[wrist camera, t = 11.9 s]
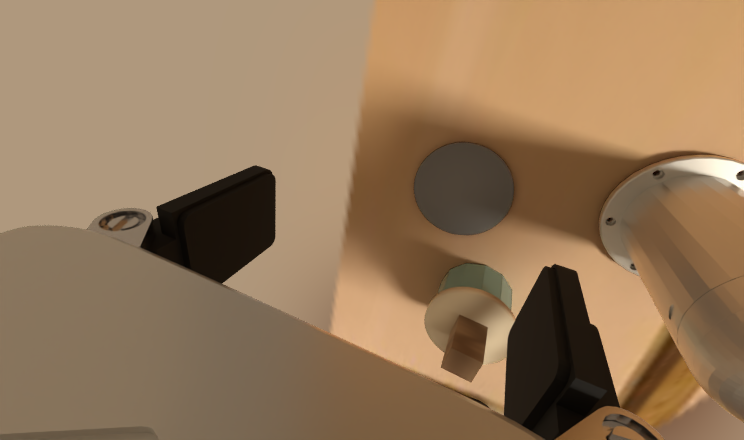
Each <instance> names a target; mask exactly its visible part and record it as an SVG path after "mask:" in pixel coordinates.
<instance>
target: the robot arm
mask: <svg viewBox="0 0 744 440" xmlns="http://www.w3.org/2000/svg"><path fill="white" fill-rule="evenodd" d="M656 170H658V173H657V174H653V172H655V171H656ZM740 171H741V173H740V174H738V175H737V173H738V172H740ZM157 212H158V217H159V218H156V219H154V220H153V216H152V215H151V213H150V212H148V211H146V210H142V209H136V208H126V209H119V210H114V211H110V212H107V213H104V214H102V215H100V216H98V217H97V218H96V219H95V220H94V221H93V222H92V223H91V224H90V226H89V227H88V228H87V229H86V230H85V229H80V228H73V227H63V226H27V227H22V228H17V229H13V230H10V231H6V232H3V233H0V440H665V439H664V438H663V437H662V436H661V435H660V434H659V433H658V432H657V431H656V430H655V429H654V428H653V427H652V426H650V425H649V424H648V423H647V422H645V421H644V420H643V419H641V418H640V417H638V416H636V415H634V414H633V413H631V412H629V411H627V410H624V409H621V408H620V406H619V402H618V399H617V395H616V392H615V388H614V385H613V381H612V377H611V374H610V370H609V367H608V363H607V360H606V356H605V352H604V349H603V345H602V342H601V338H600V335H599V331H598V329H597V327H596V326H594V325H592V324H590V321H589V317H588V313H587V309H586V305H585V302H584V298H583V294H582V290H581V286H580V282H579V278H578V274H577V272H576V271H574V270H571V269H568V268H565V267H562V266H559V265H556V264H554V265H553V266H552V267H551V268H550V267H547V266H545V267H544V268H543V270H542V271H541V273H540V275H539V277H538V279H537V281H536V282H535V284H534V286H533V288H532V290H531V292H530V294H529V296H528V297H527V299H526V301H525V303H524V305H523V307H522V309H521V311H520V312H519V314H518V316H517V318H516V320H515V322H514V324H513V325H512V327H511V329H510V332H509V335H508V340H507V361H506V383H505V405H504V416H503V415H501V414H499V413H497V412H495V411H493V410H491V409H489V408H487V407H485V406H484V405H482V404H480V403H478V402H476V401H474V400H472V399H470V398H468V397H466V396H464V395H462V394H460V393H457V392H455V391H453V390H451V389H449V388H447V387H444V386H442V385H440V384H438V383H436V382H434V381H432V380H430V379H428V378H426V377H424V376H421V375H419V374H417V373H415V372H413V371H411V370H409V369H406V368H404V367H402V366H400V365H398V364H396V363H393V362H391V361H389V360H387V359H385V358H383V357H381V356H378V355H376V354H374V353H372V352H370V351H368V350H365V349H363V348H361V347H359V346H357V345H355V344H353V343H350V342H348V341H346V340H344V339H342V338H340V337H337V336H335V335H333V334H331V333H329V332H327V331H324V330H322V329H320V328H318V327H316V326H313V325H311V324H309V323H307V322H305V321H302V320H300V319H298V318H296V317H294V316H292V315H289V314H287V313H285V312H283V311H281V310H278V309H276V308H274V307H272V306H270V305H267V304H265V303H263V302H261V301H259V300H257V299H254V298H252V297H250V296H248V295H246V294H243V293H241V292H239V291H237V290H234V289H232V288H230V287H228V286H226V285H223V284H222V283H223V282H225V281H226V280H227V279H228V278H230V277H231V276H232V275H234V274H235V273H236V272H238V271H239V270H240V269H241V268H243V267H244V266H245V265H247V264H248V263H249V262H251V261H252V260H253V259H254V258H256V257H257V256H258V255H259V254H261V253H262V252H263V251H265V250H266V249H267V248H269V247H270V246H271V245H272V244H273V242H274V240H275V177H274V175H273V174H272V172H271V171H270V170H268V169H265V168H262V167H259V166H252V167H250V168H247V169H245V170H243V171H241V172H238V173H236V174H233V175H231V176H228V177H226V178H224V179H221V180H219V181H217V182H214V183H212V184H209V185H207V186H205V187H202V188H200V189H198V190H195V191H193V192H190V193H188V194H186V195H183V196H181V197H179V198H176V199H174V200H171V201H169V202H167V203H165V204H162V205H160V206H157ZM608 218H611V219H610V220H607V219H608ZM599 233H600V237H601V240H602V243H603V245H604V247H605V249H606V251H607V252H608V254H609V255H610V256H611V257H612V259H613V260H614V261H615V262H616V263H617V264H619V265H620V266H621V267H623V268H624V269H626V270H627V271H629V272H631V273H633V274H635V275H637V276H640V277H641V279H642V281H643V283H644V285H645V287H646V288H647V290H648V292H649V294H650V296H651V298H652V300H653V302H654V304H655V306H656V307H657V309H658V311H659V313H660V315H661V317H662V319H663V321H664V323H665V325H666V327H667V328H668V330H669V332H670V334H671V336H672V338H673V340H674V342H675V344H676V346H677V347H678V349H679V351H680V353H681V355H682V357H683V358H684V360H685V362H686V364H687V365H688V367H689V369H690V371H691V373H692V374H693V376H694V377H695V379H696V380H697V382H698V383H699V385H700V386H701V387H702V388H703V389H704V391H705V392H706V393H707V394H708V395H709V396H710V397H711V398H712V399H713V400H714V401H715V402H716V403H718V404H719V405H720V406H721V407H722V408H723V409H724V410H726V411H727V412H728V413H730V414H731V415H733V416H734V417H735V418H737V419H739V420H740V421H742V422H743V423H744V163H743V162H740V161H738V160H736V159H731V158H727V157H722V156H717V155H688V156H679V157H675V158H670V159H666V160H662V161H660V162H657V163H654V164H651V165H649V166H646V167H645V168H643V169H641V170H639V171H637V172H635V173H633V174H632V175H631V176H629V177H628V178H627V179H625V180H624V181H623V182H621V183H620V184H619V185H618V186H617V187H616V188H615V189H614V190H613V191H612V192H611V194H610V195H609V197H608V198H607V200H606V201H605V203H604V205H603V208H602V210H601V213H600V218H599ZM632 263H633V264H632Z"/></svg>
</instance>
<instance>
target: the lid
mask: <svg viewBox="0 0 744 440" xmlns="http://www.w3.org/2000/svg"><path fill="white" fill-rule="evenodd" d="M424 320H425V328H426V331H427V333H428V335H429V337H430V339H431V340H432V341H433V343H434V344H435V345H436V346H437V347H438V348H439V349H440V350H442V351H443V352H444V353H445V354H444V358H443V361H442V365H441V368H443V369H445V370H447V371H449V372H451V373H453V374H455V375H457V376H459V377H461V378H463V379H465V380H467V381H469V382H472V380H473V379H474V377H475V376H476V374H477V372H478V371H479V369H480V368H481V366H482V365H484V364H493V363H496V362H499V361H502V360H503V359H505V358H507V340H508V335H509V332H510V329H511V327H512V325H513V324H514V322H515V320H516V319H515V317H514V315H513V313H512V311H511V310H510V309H509V308H508V306H507V305H506V304H505V303H504V302H502V301H501V300H500V299H499V298H497V297H496V296H494V295H492V294H490V293H488V292H486V291H483V290H480V289H477V288H472V287H453V288H449V289H446V290H443V291H441V292H440V293H438V294H437V295H435V296H434V297H433V299H432V300H431V301H430V303H429V305H428V308H427V311H426V314H425V319H424Z"/></svg>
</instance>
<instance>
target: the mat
mask: <svg viewBox="0 0 744 440" xmlns="http://www.w3.org/2000/svg"><path fill="white" fill-rule="evenodd" d="M414 194H415V199H416V202H417V205H418V207H419V209H420V211H421V212H422V214H423V215H424V216H425V217H426V218H427V220H428V221H430V222H431V223H432V224H433V225H435V226H436V227H438V228H439V229H441V230H443V231H446V232H449V233H452V234H458V235H473V234H478V233H482V232H485V231H487V230H489V229H491V228H492V227H494V226H496V225H497V224H498V223H499V222H500V221H501V220H502V219H503V218H504V217H505V216H506V214H507V213H508V211H509V209H510V207H511V204H512V201H513V195H514V184H513V178H512V175H511V172H510V170H509V168H508V167H507V165H506V164H505V162H504V161H503V160H502V159H501V158H500V157H499V156H498V155H497V154H496V153H495V152H493V151H491V150H490V149H488V148H486V147H484V146H481V145H478V144H474V143H466V142H460V143H453V144H448V145H445V146H443V147H441V148H439V149H437V150H435V151H434V152H433V153H431V154H430V155H429V156H428V157H427V158H426V159H425V160H424V161H423V163H422V164H421V166H420V167H419V169H418V171H417V174H416V177H415V182H414Z"/></svg>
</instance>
